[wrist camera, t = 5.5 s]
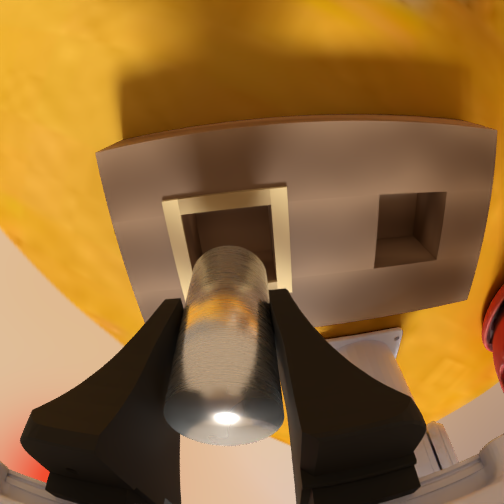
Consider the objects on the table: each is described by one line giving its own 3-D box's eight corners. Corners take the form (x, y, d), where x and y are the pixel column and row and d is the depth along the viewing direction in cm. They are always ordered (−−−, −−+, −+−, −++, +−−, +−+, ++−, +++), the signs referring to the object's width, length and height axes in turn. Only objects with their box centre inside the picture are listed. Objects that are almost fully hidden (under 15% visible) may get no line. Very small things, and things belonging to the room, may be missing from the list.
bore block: (442, 271, 22) (468, 301, 19) (163, 303, 23) (151, 342, 19) (460, 119, 17) (499, 130, 13) (122, 139, 17) (93, 153, 14)
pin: (269, 304, 15) (285, 441, 8) (199, 310, 15) (181, 446, 8) (263, 241, 13) (282, 379, 7) (185, 249, 13) (147, 385, 7)
